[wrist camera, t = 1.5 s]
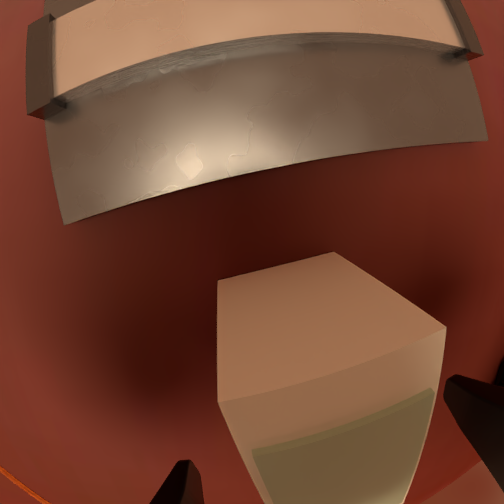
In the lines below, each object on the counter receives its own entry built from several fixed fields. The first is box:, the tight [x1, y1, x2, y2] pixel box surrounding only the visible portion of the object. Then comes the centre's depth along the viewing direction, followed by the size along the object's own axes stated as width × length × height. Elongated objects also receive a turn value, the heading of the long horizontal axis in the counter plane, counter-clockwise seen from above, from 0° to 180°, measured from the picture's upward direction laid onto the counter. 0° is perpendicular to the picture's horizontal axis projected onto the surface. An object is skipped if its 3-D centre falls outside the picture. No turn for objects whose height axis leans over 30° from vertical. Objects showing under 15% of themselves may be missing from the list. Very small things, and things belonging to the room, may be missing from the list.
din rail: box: [26, 0, 488, 225], centre depth 8 cm, size 18×12×2 cm, turn 102°
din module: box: [217, 252, 447, 504], centre depth 9 cm, size 4×9×7 cm, turn 12°
